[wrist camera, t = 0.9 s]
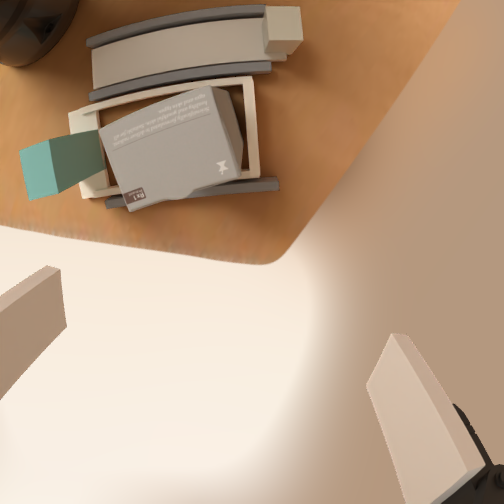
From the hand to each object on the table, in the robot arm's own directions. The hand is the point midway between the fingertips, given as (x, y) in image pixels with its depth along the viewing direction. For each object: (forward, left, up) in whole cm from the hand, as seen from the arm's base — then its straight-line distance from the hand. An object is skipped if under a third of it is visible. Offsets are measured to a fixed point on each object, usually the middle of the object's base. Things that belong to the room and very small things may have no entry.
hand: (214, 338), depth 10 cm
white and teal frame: (-6, -8, -25) cm, 27 cm away
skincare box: (-6, -3, -26) cm, 27 cm away
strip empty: (-16, -4, -25) cm, 30 cm away
